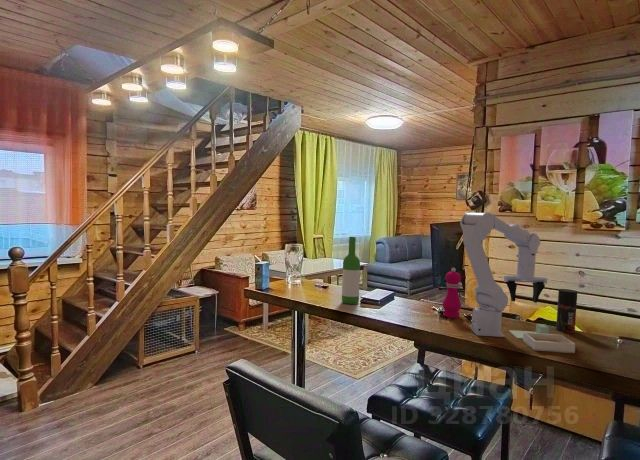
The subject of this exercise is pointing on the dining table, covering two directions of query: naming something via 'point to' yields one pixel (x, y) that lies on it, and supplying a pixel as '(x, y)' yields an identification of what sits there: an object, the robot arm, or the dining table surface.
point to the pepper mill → (452, 295)
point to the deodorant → (566, 310)
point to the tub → (549, 342)
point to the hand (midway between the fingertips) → (523, 301)
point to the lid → (539, 329)
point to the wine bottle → (351, 275)
